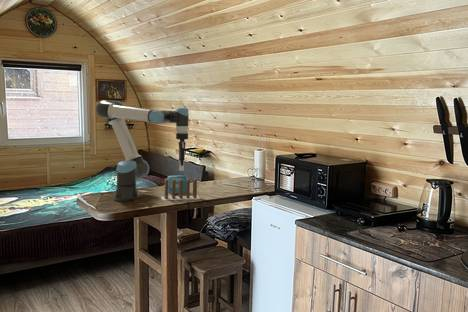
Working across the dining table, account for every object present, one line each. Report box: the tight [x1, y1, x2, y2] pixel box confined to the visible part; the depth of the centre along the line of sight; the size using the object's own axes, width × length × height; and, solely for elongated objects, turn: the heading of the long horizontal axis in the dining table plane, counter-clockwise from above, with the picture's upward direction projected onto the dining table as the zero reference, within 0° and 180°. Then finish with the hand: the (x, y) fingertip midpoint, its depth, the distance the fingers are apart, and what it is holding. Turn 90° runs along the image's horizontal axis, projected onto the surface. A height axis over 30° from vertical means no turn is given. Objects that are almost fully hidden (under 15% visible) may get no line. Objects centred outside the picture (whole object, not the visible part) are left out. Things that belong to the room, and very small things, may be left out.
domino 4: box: [185, 177, 191, 198], centre depth 268 cm, size 2×5×12 cm, turn 16°
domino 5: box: [192, 177, 198, 198], centre depth 270 cm, size 2×5×12 cm, turn 16°
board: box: [160, 195, 201, 201], centre depth 268 cm, size 24×10×1 cm, turn 106°
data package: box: [166, 174, 187, 194], centre depth 284 cm, size 12×4×12 cm, turn 119°
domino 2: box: [171, 178, 176, 199], centre depth 266 cm, size 2×5×12 cm, turn 16°
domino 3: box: [178, 178, 184, 199], centre depth 267 cm, size 2×5×12 cm, turn 16°
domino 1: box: [164, 178, 169, 199], centre depth 265 cm, size 2×5×12 cm, turn 16°
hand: (181, 170), depth 266 cm, fingers closed
